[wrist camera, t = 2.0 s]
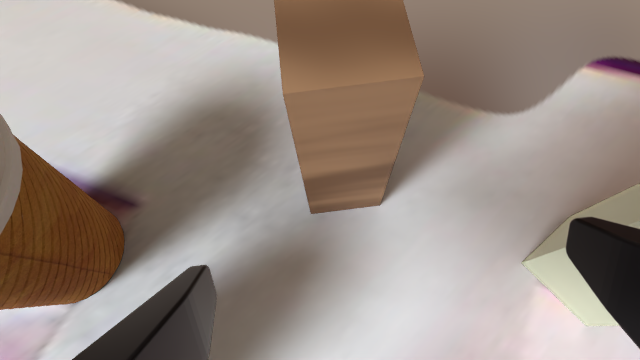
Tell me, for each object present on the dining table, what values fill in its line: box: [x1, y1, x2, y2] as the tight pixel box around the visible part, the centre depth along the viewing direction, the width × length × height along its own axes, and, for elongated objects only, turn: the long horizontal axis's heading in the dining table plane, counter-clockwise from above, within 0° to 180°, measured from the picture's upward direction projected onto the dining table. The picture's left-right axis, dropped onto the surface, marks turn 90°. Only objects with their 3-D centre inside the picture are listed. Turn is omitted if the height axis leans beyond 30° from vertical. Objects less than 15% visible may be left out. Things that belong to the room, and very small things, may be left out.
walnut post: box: [274, 0, 424, 214], centre depth 18 cm, size 4×4×13 cm
